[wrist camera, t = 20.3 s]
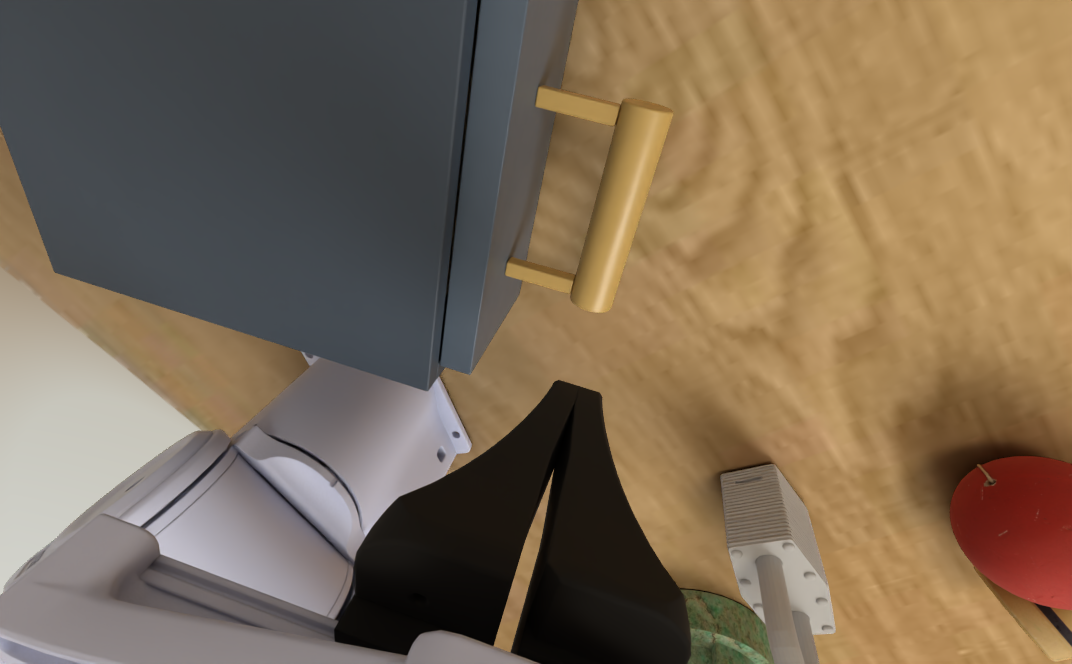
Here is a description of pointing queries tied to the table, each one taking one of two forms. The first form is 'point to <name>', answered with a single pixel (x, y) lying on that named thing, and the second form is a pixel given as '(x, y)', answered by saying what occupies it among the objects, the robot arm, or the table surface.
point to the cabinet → (250, 161)
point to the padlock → (777, 561)
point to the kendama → (1022, 542)
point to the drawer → (534, 174)
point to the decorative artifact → (725, 631)
